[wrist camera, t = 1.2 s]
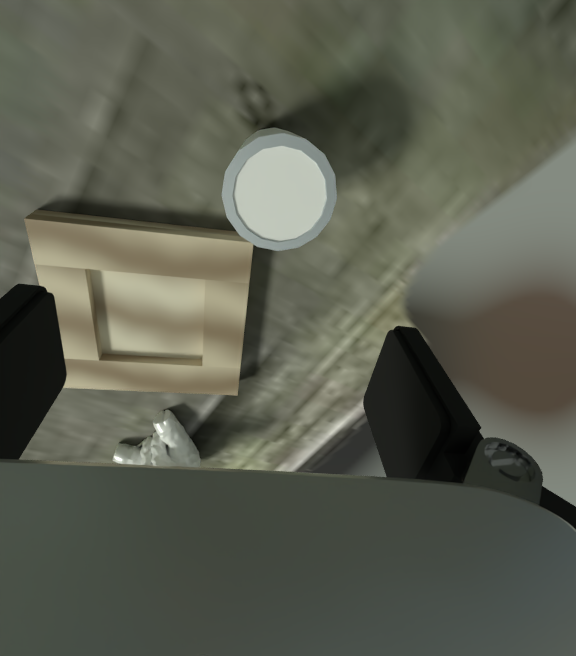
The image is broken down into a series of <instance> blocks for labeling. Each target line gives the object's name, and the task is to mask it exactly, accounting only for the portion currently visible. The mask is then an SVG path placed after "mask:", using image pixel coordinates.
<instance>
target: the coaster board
mask: <svg viewBox="0 0 576 656" xmlns="http://www.w3.org/2000/svg"><path fill="white" fill-rule="evenodd" d="M24 220H25V224H26V229H27V233H28V237H29V242H30V246H31V250H32V255H33V259H34V263H35V268H36V272H37V276H38V281H39V285H40V286H44V287H45V288H46V290H47V292H50V293H52V294H53V295H54V298H55V304H56V310H57V316H58V322H59V328H60V334H61V340H62V346H63V352H64V359H65V365H66V371H67V377H66V382H65V384H64V386H63V388H81V389H104V390H127V391H150V392H172V393H195V394H218V395H238V385H239V376H240V366H241V357H242V347H243V338H244V328H245V319H246V309H247V300H248V290H249V281H250V271H251V262H252V252H253V244H252V243H251V242H249V241H248V240H246V239H245V238H243V237H241V236H240V235H239V234H238V232H237V231H228V230H219V229H210V228H201V227H191V226H182V225H173V224H164V223H155V222H146V221H137V220H128V219H119V218H110V217H101V216H91V215H82V214H73V213H64V212H55V211H46V210H35V211H34V212H33V213H31V214H30V215H28V216H27V217H26V218H24Z"/></svg>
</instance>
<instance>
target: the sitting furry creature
mask: <svg viewBox="0 0 576 656" xmlns="http://www.w3.org/2000/svg"><path fill="white" fill-rule="evenodd" d="M153 424H154V427H155V429H156V432H155V431H154V433H153V438H152V437H147V438H146V439H145V438H144V440H143V441H142V442H141V443H140V444H138V445H137V446H133V445H128V444H125V443H124V444H121V443H118V446H117V448H116V451H115V454H114V457H113V461H115V462H117V463H119V464H137V465H160V466H181V467H200V463H201V459H200V456H199V451H198V450H197V448H196V446H195V445H194V443H193V441H192V439H191V438H189V435H188V434H187V433H186V432H185V429H184V427H183V425H181V424H180V422H179V421H178V420H177V419H176V417H175V415H174V414H173V413H172V411H170V410H165V411H163V410H162V411H161V412H160V413H158V414H157V415H156V416H155V418H154V420H153ZM166 444H167V445H166ZM141 445H142V447H140V446H141Z"/></svg>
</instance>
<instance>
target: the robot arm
mask: <svg viewBox="0 0 576 656" xmlns="http://www.w3.org/2000/svg"><path fill="white" fill-rule="evenodd" d="M66 377H67V371H66V365H65V359H64V352H63V346H62V340H61V334H60V328H59V322H58V316H57V310H56V304H55V298H54V295H53V294H52V293H50V292H47V290H46V288H45V287H44V286H36V285H27V284H17V285H16V286H14V287H13V288H12V289H11V290H10V291H9V292H8V293H6V294H5V295H4V296H3V297H2V298H1V299H0V656H576V507H575V506H574V505H572V504H570V503H569V502H567V501H565V500H564V499H562V498H561V497H559V496H557V495H556V494H554V493H553V492H551V491H549V490H547V489H546V488H544V487H543V486H542V482H543V476H542V471H541V469H540V467H539V466H538V464H537V463H536V461H535V460H534V459H533V458H532V457H531V456H530V455H529V454H528V453H527V452H526V451H524V450H523V449H521V448H520V447H518V446H517V445H515V444H513V443H511V442H509V441H506V440H503V439H500V438H485V439H484V438H483V437H482V435H481V434H480V432H479V430H480V429H481V427H480V425H479V424H478V422H477V420H476V419H475V417H474V416H473V414H472V413H471V411H470V410H469V408H468V406H467V405H466V403H465V402H464V400H463V399H462V397H461V396H460V394H459V393H458V391H457V390H456V388H455V386H454V385H453V383H452V382H451V380H450V379H449V377H448V376H447V374H446V373H445V371H444V369H443V368H442V366H441V365H440V363H439V362H438V360H437V359H436V357H435V356H434V354H433V352H432V351H431V349H430V348H429V346H428V345H427V343H426V342H425V340H424V339H423V337H422V335H421V334H420V332H419V331H418V330H417V329H416V328H412V327H403V326H397V327H395V328H394V330H390V331H389V332H388V333H387V336H386V338H385V341H384V344H383V347H382V349H381V352H380V355H379V357H378V360H377V363H376V366H375V368H374V371H373V374H372V377H371V379H370V382H369V385H368V387H367V390H366V393H365V396H364V401H363V405H364V410H365V413H366V416H367V419H368V422H369V425H370V428H371V431H372V434H373V437H374V440H375V443H376V445H377V449H378V452H379V455H380V458H381V461H382V464H383V467H384V470H385V473H386V476H387V477H375V476H356V475H338V474H319V473H302V472H283V471H263V470H243V469H223V468H202V467H181V466H160V465H137V464H114V463H91V462H68V461H44V460H19V458H20V456H21V455H22V453H23V451H24V450H25V448H26V447H27V445H28V443H29V442H30V440H31V438H32V437H33V435H34V434H35V432H36V430H37V429H38V427H39V425H40V424H41V422H42V421H43V419H44V417H45V416H46V414H47V412H48V411H49V409H50V407H51V406H52V404H53V403H54V401H55V399H56V398H57V396H58V394H59V393H60V391H61V390H62V388H63V386H64V384H65V382H66Z"/></svg>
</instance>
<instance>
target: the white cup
mask: <svg viewBox="0 0 576 656" xmlns="http://www.w3.org/2000/svg"><path fill="white" fill-rule="evenodd" d="M222 199H223V203H224V207H225V211H226V216H227V218H228V220H229V221H230V223H231V224H232V225H233V227H234V228H235V229H236V231H237V232H238V234H239V235H240V236H241V237H243V238H245V239H246V240H248V241H249V242H251V243H252V244H254V245H255V246H257V247H261V248H266V249H271V250H276V251H281V250H286V249H292V248H298V247H300V246H302V245H303V244H305V243H307V242H308V241H310V240H312V239H313V238H315V237H317V236H318V234H319V233H320V232H321V231H322V229H323V228H324V227H325V226H326V224H327V223H328V222H329V220H330V219H331V216H332V212H333V209H334V206H335V203H336V200H337V193H336V179H335V174H334V172H333V170H332V168H331V166H330V164H329V162H328V160H327V158H326V156H325V154H324V153H322V152H321V151H320V150H319V149H318V148H316V147H315V146H314V145H313V144H311V143H310V142H309V141H308V140H307V139H305V138H303V137H301V136H298V135H296V134H294V133H292V132H290V131H286V130H282V129H279V128H275V127H274V128H268V129H262V130H258V131H257V132H255V133H254V134H253V135H251V136H250V137H248V138H247V139H246V140H245V141H244V143H243V144H242V146H241V147H240V149H239V150H238V152H237V154H236V155H235V157H234V159H233V160H232V162H231V163H230V165H229V167H228V168H227V170H226V172H225V177H224V183H223V190H222Z"/></svg>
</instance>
